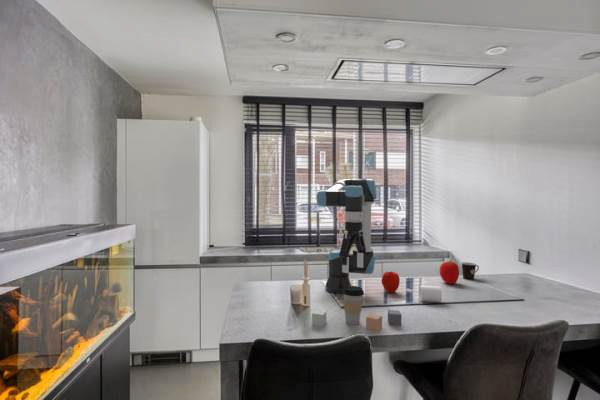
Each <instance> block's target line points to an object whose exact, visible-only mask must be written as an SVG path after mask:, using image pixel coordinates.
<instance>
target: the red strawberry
mask: <svg viewBox="0 0 600 400" xmlns="http://www.w3.org/2000/svg"><path fill="white" fill-rule="evenodd" d="M439 275H440V278H441V279H442V281H443V282H445V283H446V284H449V285H454V284H456V283H457V282H458V280H459V276H460V269H459V265H458V264H457V263H456V262H454V261H451V260H449V261H444V262H442V263H441V265H440V266H439Z"/></svg>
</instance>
